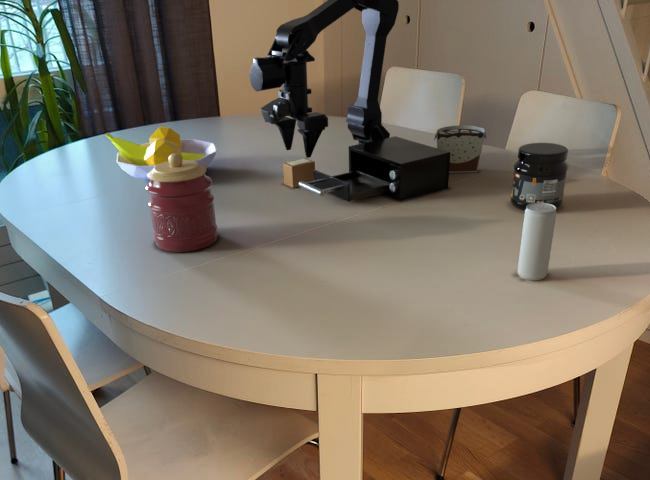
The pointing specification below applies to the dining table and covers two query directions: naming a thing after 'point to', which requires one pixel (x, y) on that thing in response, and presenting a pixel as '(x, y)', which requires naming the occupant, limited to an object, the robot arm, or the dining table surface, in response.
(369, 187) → the tray
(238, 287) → the dining table surface
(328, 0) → the robot arm
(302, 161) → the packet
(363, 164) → the toaster oven
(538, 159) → the supplement container
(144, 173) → the fruit bowl
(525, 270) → the beverage can
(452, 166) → the food container
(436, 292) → the dining table surface
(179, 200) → the kitchen canister
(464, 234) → the dining table surface
